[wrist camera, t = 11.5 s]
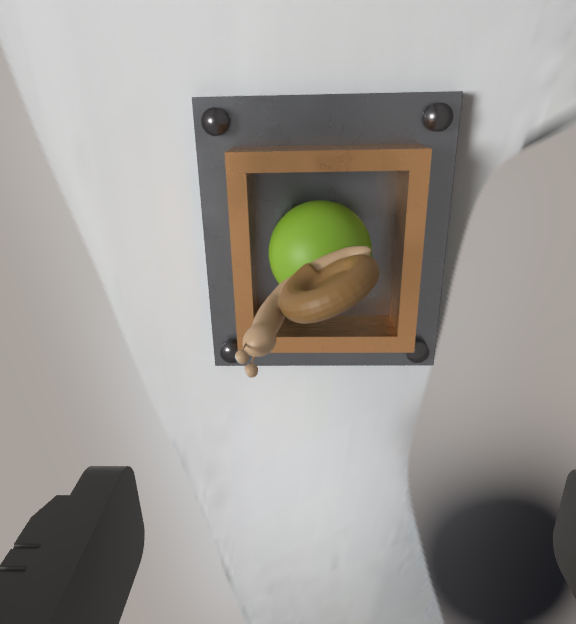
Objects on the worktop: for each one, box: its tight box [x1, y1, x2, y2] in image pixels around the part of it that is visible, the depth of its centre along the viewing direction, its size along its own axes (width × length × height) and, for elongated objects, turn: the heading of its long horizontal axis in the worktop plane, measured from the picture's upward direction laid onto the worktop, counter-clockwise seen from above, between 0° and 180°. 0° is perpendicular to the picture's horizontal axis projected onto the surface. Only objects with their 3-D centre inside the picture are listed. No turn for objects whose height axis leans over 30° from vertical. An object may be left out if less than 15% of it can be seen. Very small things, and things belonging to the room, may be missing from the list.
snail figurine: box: [235, 200, 380, 377], centre depth 24 cm, size 5×6×12 cm
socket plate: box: [192, 91, 463, 366], centre depth 28 cm, size 16×14×4 cm
